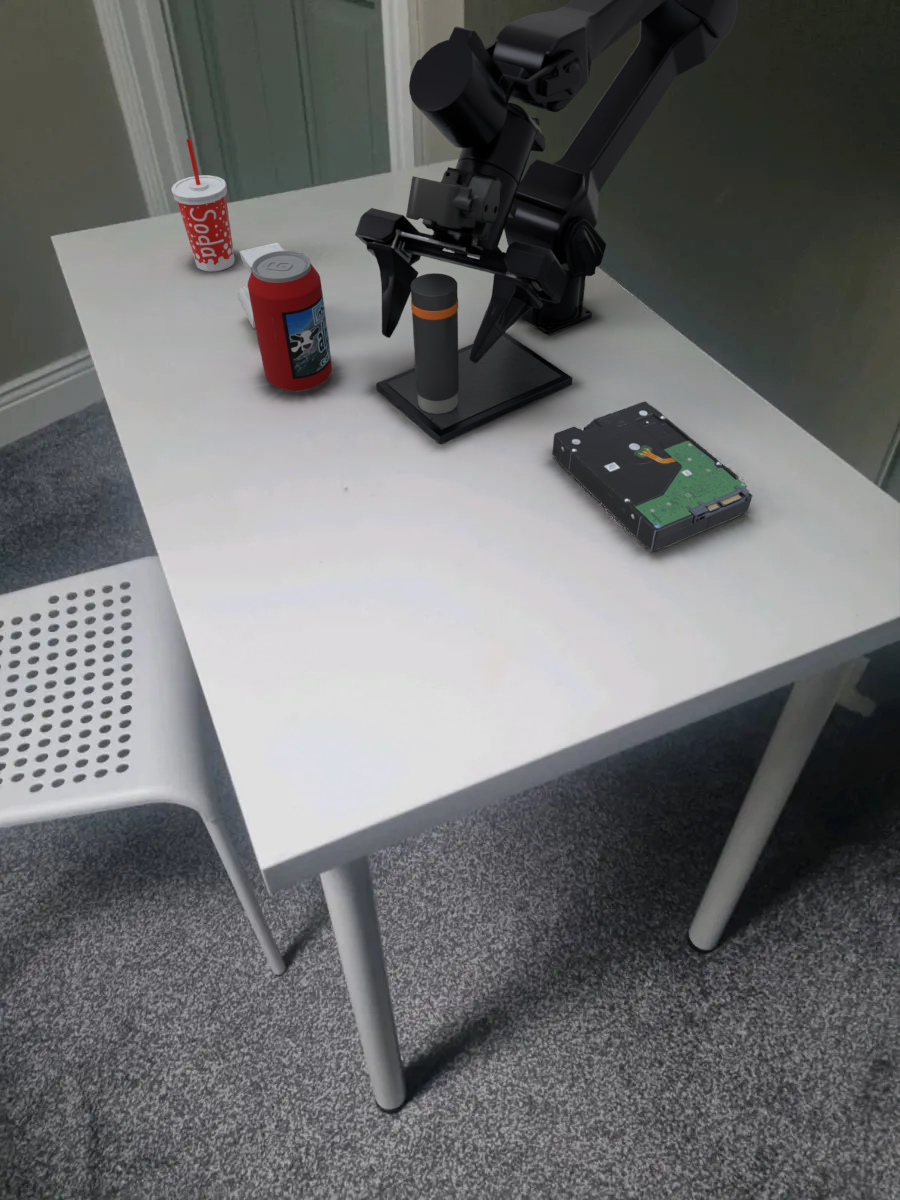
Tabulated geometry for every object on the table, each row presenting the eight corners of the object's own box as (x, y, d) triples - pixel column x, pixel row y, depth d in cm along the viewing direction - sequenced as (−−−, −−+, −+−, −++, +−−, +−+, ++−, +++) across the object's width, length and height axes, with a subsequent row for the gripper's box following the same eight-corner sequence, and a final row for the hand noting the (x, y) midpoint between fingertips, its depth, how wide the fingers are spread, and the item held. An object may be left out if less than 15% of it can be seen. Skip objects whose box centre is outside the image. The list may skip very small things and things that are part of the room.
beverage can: (322, 400, 87) (305, 285, 79) (256, 393, 88) (232, 279, 80) (341, 362, 92) (327, 249, 83) (279, 356, 93) (258, 244, 84)
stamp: (321, 340, 95) (310, 264, 89) (260, 354, 93) (245, 278, 87) (296, 301, 101) (285, 227, 94) (238, 314, 99) (223, 240, 93)
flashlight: (452, 387, 87) (450, 269, 78) (464, 410, 84) (463, 291, 75) (411, 394, 86) (404, 277, 77) (423, 418, 83) (417, 299, 75)
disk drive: (548, 459, 81) (652, 556, 72) (550, 433, 79) (657, 530, 70) (640, 424, 84) (750, 512, 75) (644, 398, 82) (758, 486, 73)
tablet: (503, 337, 95) (503, 330, 94) (572, 384, 88) (573, 376, 88) (376, 390, 88) (375, 382, 88) (440, 444, 82) (440, 436, 82)
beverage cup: (181, 272, 106) (150, 148, 96) (202, 248, 110) (174, 127, 100) (229, 276, 105) (203, 151, 95) (248, 252, 109) (225, 130, 99)
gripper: (356, 109, 74) (296, 293, 75) (562, 148, 67) (492, 348, 69) (410, 173, 84) (356, 333, 86) (593, 212, 78) (532, 385, 79)
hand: (428, 348), depth 80 cm, fingers open, 9 cm apart
